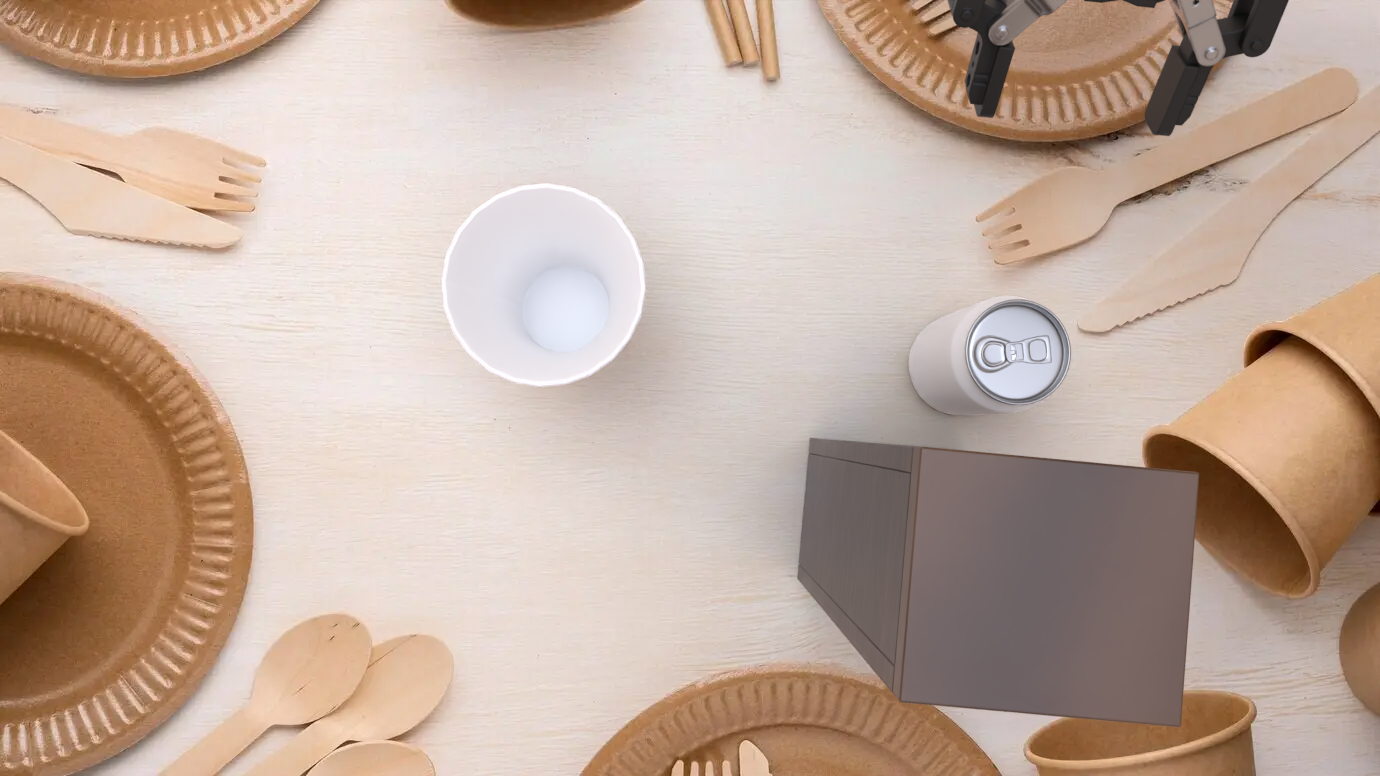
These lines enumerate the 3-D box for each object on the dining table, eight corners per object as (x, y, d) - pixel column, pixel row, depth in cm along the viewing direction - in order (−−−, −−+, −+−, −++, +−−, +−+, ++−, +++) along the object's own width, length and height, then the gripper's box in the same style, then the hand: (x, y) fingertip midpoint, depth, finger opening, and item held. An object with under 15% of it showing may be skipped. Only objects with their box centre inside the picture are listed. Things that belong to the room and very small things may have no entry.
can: (901, 319, 68) (951, 296, 56) (1001, 310, 68) (1072, 285, 56) (911, 420, 67) (963, 418, 55) (1011, 410, 67) (1085, 407, 55)
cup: (648, 398, 67) (642, 390, 54) (483, 392, 67) (435, 383, 53) (654, 234, 67) (650, 186, 54) (490, 228, 67) (444, 178, 54)
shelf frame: (965, 452, 67) (1184, 471, 39) (953, 593, 67) (1165, 718, 38) (809, 437, 67) (913, 445, 38) (797, 579, 67) (891, 694, 38)
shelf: (1184, 471, 39) (1200, 472, 37) (1165, 718, 38) (1181, 728, 37) (913, 445, 38) (920, 446, 37) (891, 694, 38) (899, 703, 37)
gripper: (1041, -262, 37) (932, 144, 48) (1437, -221, 38) (1239, 174, 49) (1005, -304, 43) (915, 69, 54) (1351, -268, 43) (1191, 97, 54)
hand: (1069, 119), depth 51 cm, fingers open, 8 cm apart
